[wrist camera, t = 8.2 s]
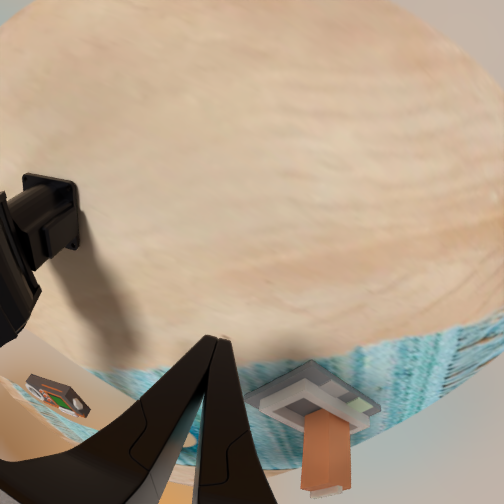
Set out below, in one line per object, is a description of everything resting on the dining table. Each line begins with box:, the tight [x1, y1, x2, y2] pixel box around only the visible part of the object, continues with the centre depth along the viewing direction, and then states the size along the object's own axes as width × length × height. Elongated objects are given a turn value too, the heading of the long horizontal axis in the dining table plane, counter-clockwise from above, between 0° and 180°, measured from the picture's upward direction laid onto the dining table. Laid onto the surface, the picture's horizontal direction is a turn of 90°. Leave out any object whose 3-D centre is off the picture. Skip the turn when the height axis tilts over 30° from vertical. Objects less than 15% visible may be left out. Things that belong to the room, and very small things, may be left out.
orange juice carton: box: [301, 408, 351, 499], centre depth 28 cm, size 4×4×10 cm
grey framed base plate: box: [244, 360, 381, 435], centre depth 31 cm, size 13×10×2 cm
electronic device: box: [26, 374, 91, 418], centre depth 43 cm, size 7×3×15 cm
